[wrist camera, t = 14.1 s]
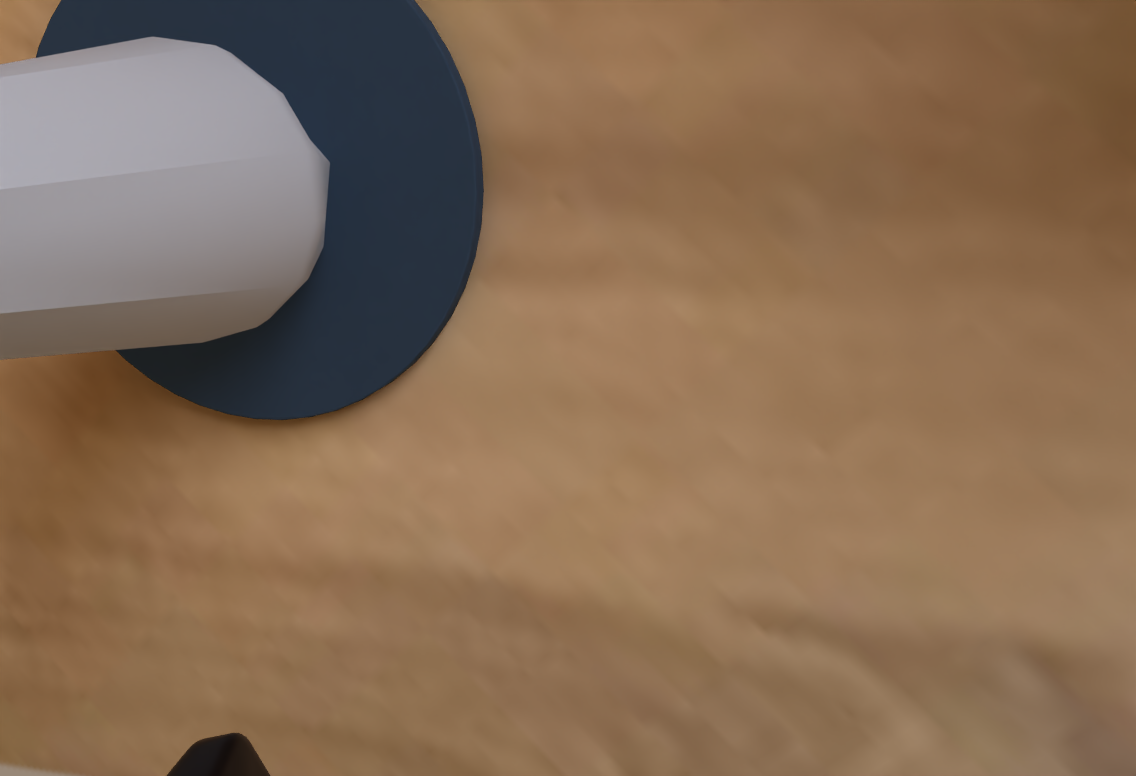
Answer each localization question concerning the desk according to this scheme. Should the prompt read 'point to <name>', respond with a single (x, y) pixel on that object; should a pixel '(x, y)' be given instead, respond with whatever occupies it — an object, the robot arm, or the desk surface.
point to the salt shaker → (149, 198)
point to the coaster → (330, 193)
